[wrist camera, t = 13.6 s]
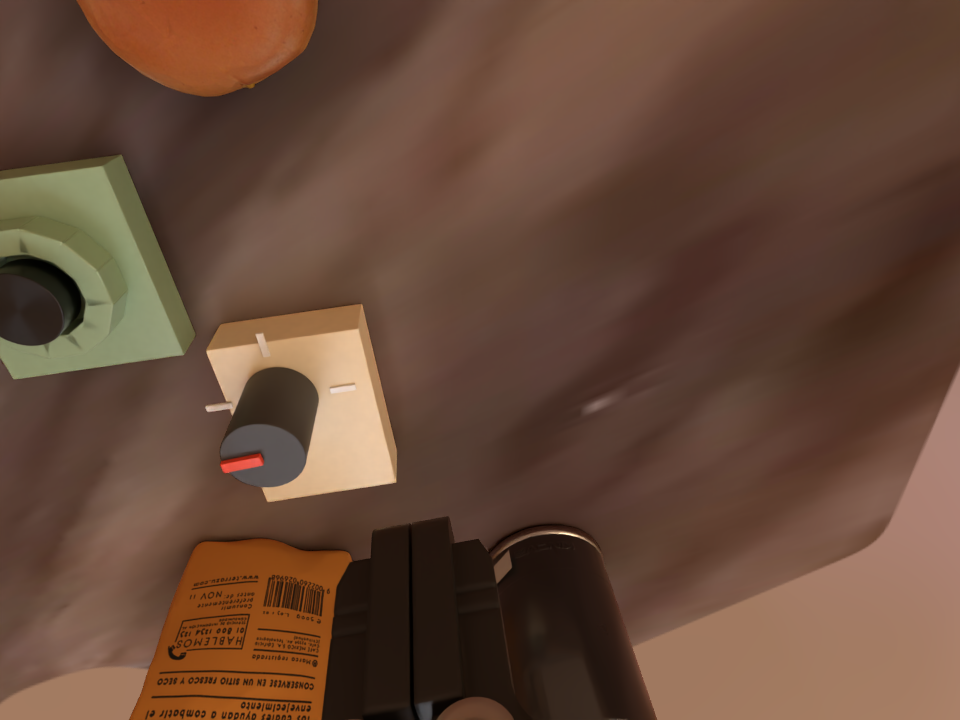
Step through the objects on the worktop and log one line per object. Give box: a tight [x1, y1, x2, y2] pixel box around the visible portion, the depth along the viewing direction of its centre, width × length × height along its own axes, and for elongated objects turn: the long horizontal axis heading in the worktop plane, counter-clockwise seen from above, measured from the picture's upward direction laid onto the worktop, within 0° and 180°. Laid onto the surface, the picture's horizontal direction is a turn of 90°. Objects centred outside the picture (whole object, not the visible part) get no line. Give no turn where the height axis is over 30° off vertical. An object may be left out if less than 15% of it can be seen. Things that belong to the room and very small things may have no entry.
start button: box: [0, 259, 81, 346], centre depth 28 cm, size 4×4×2 cm
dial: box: [220, 367, 319, 487], centre depth 31 cm, size 4×4×5 cm
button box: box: [0, 155, 196, 379], centre depth 30 cm, size 10×9×4 cm
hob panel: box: [206, 304, 397, 502], centre depth 36 cm, size 12×9×3 cm
